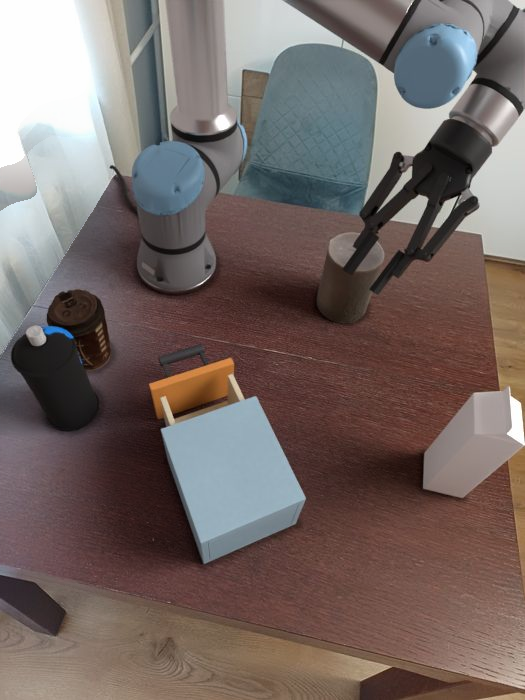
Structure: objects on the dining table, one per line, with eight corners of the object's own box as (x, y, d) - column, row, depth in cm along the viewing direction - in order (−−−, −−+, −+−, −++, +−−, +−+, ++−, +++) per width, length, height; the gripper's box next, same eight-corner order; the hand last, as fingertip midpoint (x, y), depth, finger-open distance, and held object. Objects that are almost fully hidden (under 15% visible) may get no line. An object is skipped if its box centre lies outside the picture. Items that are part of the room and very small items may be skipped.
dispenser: (167, 461, 74) (160, 428, 65) (252, 429, 78) (256, 395, 69) (203, 564, 66) (200, 543, 57) (295, 523, 70) (306, 498, 61)
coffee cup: (72, 333, 87) (51, 282, 76) (120, 335, 87) (106, 284, 76) (61, 375, 82) (37, 327, 71) (112, 377, 82) (96, 329, 71)
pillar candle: (358, 330, 91) (379, 273, 79) (308, 313, 93) (321, 254, 81) (371, 294, 96) (393, 235, 84) (324, 278, 98) (338, 218, 86)
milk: (422, 489, 74) (484, 422, 56) (423, 452, 78) (482, 378, 60) (463, 498, 74) (539, 434, 56) (462, 461, 77) (534, 389, 59)
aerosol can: (87, 436, 76) (50, 364, 59) (36, 425, 76) (-15, 350, 60) (107, 391, 80) (78, 312, 64) (59, 381, 81) (18, 300, 65)
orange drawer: (145, 383, 81) (137, 352, 73) (218, 360, 84) (217, 328, 77) (185, 498, 70) (181, 475, 63) (266, 466, 74) (271, 440, 67)
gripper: (529, 175, 64) (414, 320, 70) (421, 117, 71) (324, 254, 77) (530, 153, 57) (403, 315, 64) (410, 91, 64) (305, 243, 70)
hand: (360, 281), depth 70 cm, fingers open, 4 cm apart
